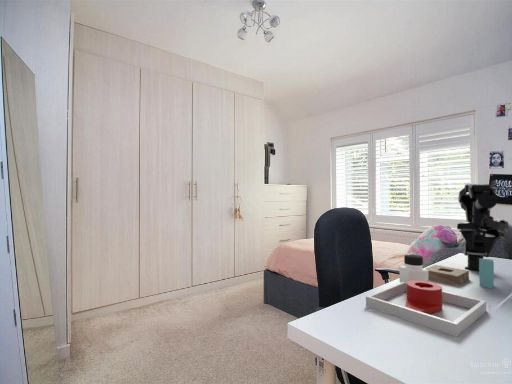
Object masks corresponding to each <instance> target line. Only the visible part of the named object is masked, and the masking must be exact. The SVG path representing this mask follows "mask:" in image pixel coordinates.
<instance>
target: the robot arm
mask: <svg viewBox="0 0 512 384" xmlns="http://www.w3.org/2000/svg"><path fill="white" fill-rule="evenodd" d="M496 197H497V193H496V191H495V189H493V187H492V186H491V184H486V183H485V184H483V183H482V184H477V183H467V184H465V185H464V188H462V189H461V190H460V191H459V193H458V198H457V199H458V203H459V204H460V205H459V206H460V207H461V209H462V210H463V211H465V219H466V222H465V221H464V222H463V221H462V222H461V221H460V222H458V223H457V225H456V230H459V233H461V235H462V237H463V238H464V240H465V242H464V244H463V248H462V249H463V250H462V252H463V255H464V256H467V266H465V267H464V270H472V271H478V272H479V258H481V259H484V258H489V257H490V254H491V253H492V250H493V247H494V246H495V244H496V243H497V242H498V241H499V240H502V239H504V238H505V230H508V229H509V222H508V221H506V220H502V219H501V220H499V221H498V220H494V216H493V215H492V216H491V210H492V209H493V208H494V207H495V206H497V203H498V202H497V198H496Z"/></svg>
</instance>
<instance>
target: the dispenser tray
mask: <svg viewBox="0 0 512 384" xmlns="http://www.w3.org/2000/svg"><path fill="white" fill-rule="evenodd" d="M404 292H406V293H407V282H401V283H400V282H399V283H396V284H394V285H391V286H388V287H387V288H384V289H383V288H382V289H381V290H379V291H376V292H374V293H370V294H368V295H366V296H365V307H368V308H371V309H374V310H376V311H380V312H383V313H386V314H388V315H391V316H393V317H397V318H399V319H403V320H405V321H406V320H407V321H409V322H411V323H414V324H417V325H420V326H423V327H426V328H429V329H432V330H436V331H438V332H440V333H441V332H442V333H444V334H447V335H450V336H454V337H455V338H456V337H458V336H460V335H461V334H462V333H463V332H464V331H465V330H466V329H467V328H469V327H470V326H471V325H472V324H473V323H475V322H476V321H477V320H478V319H479V318H480V317H482V316H483V315H484V314H486V313H487V301H486V300H482V299H478V298H474V297H469V296H466V295H463V294H457V293H453V292H449V291H445V290H442V302H443V303H444V302H445V303H448V304H451V305H452V304H453V305H456V306H460V307H462V308H463V307H464V308H467V309H468V310H467V311H466V312H465V313H463V314H462V315H460V316H459V317H458V318H456V319H455V320H453V321H451V320H448V319H446V318H445V319H444V318H442V317H439V316H435V315H429V314H426V313H423V312H419V311H416V310H413V309H410V308H406V307H405V306H403V305H400V304H396V303H393V302H389V301H387V300H388V299H390V298H393V297H394V296H398V295H399V294H402V293H404Z"/></svg>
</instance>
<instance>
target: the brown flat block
mask: <svg viewBox="0 0 512 384" xmlns="http://www.w3.org/2000/svg"><path fill="white" fill-rule="evenodd" d="M425 269H426V270H428V271H429V281H433V282H434V281H435V282H439V283H444V284H447V285H448V284H449V285H453V286H456V287H458V286H461V285H462V284H463V283H466V282H468V281H469V280H470V271H469V269H461V268H455V267H449V266H442V265H439V264H434V265H431V266H429V267H426V268H425Z"/></svg>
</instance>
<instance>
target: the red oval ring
mask: <svg viewBox="0 0 512 384" xmlns="http://www.w3.org/2000/svg"><path fill="white" fill-rule="evenodd" d="M442 291H443V286H442V285H440V284H438V283H435V282H431V281H429V282H427V281H418V280H414V281H408V282H407V292H406V299H405V306H404V307H406V308H410V309H413V310H416V311H419V312H423V313H426V314H429V315H432V316H434V315H435V314H437V313H440V312H442V310H443V301H442Z"/></svg>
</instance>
